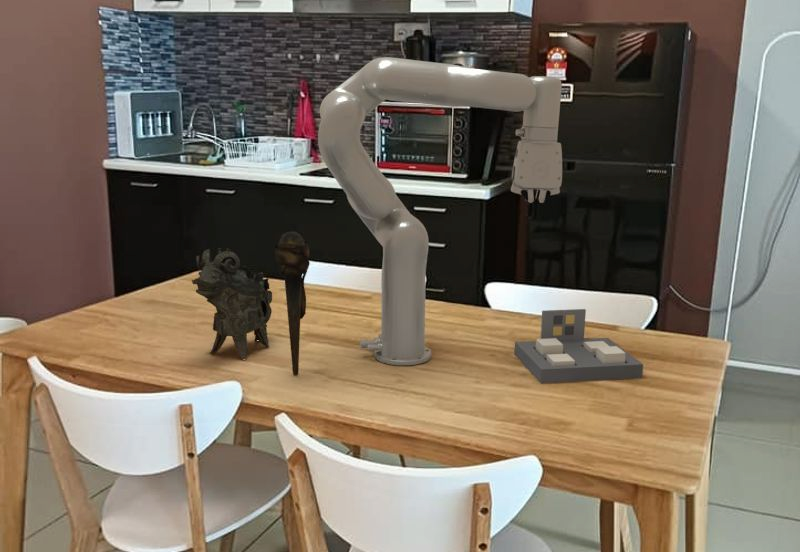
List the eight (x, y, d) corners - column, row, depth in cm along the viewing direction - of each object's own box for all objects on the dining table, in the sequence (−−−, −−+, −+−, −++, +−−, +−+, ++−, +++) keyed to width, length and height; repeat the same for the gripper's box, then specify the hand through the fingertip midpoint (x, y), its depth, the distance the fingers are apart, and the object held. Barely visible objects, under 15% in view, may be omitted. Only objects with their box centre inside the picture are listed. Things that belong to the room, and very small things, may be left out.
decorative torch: (298, 382, 168) (296, 236, 161) (271, 376, 171) (267, 233, 164) (318, 372, 173) (316, 231, 166) (291, 366, 177) (288, 228, 170)
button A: (553, 372, 171) (554, 361, 170) (546, 365, 175) (546, 354, 174) (574, 371, 171) (574, 360, 171) (566, 364, 176) (567, 353, 175)
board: (540, 383, 169) (541, 369, 168) (514, 354, 186) (514, 341, 185) (642, 377, 172) (643, 364, 172) (606, 350, 190) (607, 337, 189)
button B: (604, 365, 172) (605, 354, 172) (595, 357, 176) (596, 347, 176) (624, 364, 173) (625, 353, 172) (615, 356, 177) (616, 346, 177)
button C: (542, 356, 177) (542, 345, 176) (535, 349, 181) (536, 339, 181) (562, 355, 178) (563, 344, 177) (555, 348, 182) (555, 338, 182)
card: (541, 341, 186) (543, 311, 184) (540, 340, 186) (542, 310, 185) (584, 339, 187) (586, 309, 186) (582, 338, 188) (584, 308, 186)
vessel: (181, 365, 176) (177, 251, 173) (250, 340, 199) (247, 239, 195) (224, 371, 172) (220, 254, 168) (289, 345, 194) (287, 241, 190)
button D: (590, 359, 179) (591, 348, 179) (583, 352, 183) (583, 341, 183) (610, 358, 180) (611, 347, 179) (602, 351, 184) (603, 341, 184)
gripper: (510, 135, 173) (503, 222, 178) (579, 138, 175) (571, 223, 180) (501, 133, 181) (495, 216, 185) (567, 135, 183) (560, 217, 187)
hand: (532, 219), depth 182 cm, fingers closed
